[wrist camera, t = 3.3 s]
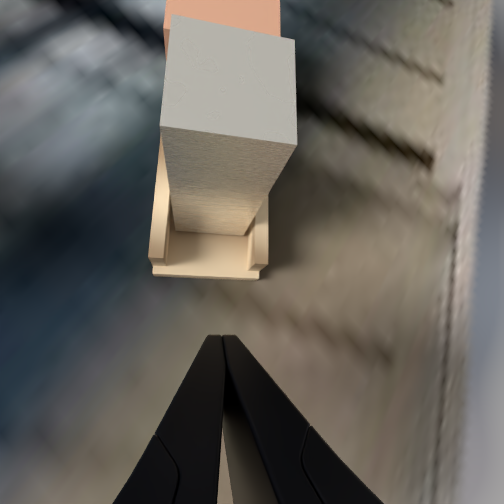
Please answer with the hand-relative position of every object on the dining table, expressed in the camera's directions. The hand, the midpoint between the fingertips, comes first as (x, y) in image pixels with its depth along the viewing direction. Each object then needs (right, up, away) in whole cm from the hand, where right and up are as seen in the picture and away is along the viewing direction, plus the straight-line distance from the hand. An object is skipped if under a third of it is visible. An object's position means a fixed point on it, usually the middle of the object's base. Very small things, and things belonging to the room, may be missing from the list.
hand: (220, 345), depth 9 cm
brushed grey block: (-2, +8, +12) cm, 15 cm away
